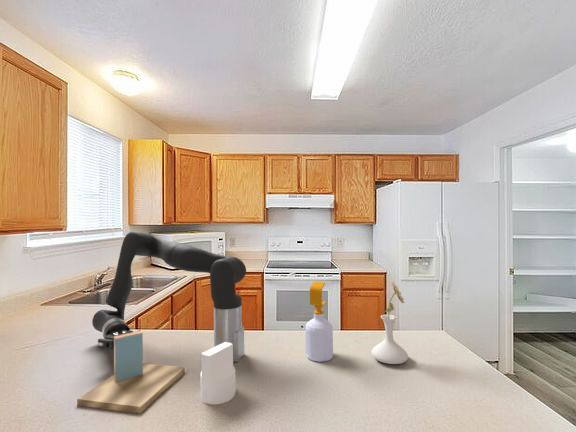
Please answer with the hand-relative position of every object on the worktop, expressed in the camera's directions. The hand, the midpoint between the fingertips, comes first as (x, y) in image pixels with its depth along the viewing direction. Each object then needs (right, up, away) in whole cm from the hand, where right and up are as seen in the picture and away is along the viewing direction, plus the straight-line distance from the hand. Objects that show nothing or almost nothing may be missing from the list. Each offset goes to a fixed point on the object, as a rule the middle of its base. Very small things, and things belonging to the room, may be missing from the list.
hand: (125, 347), depth 91 cm
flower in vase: (+82, -7, +8) cm, 83 cm away
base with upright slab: (+30, -8, -11) cm, 33 cm away
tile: (+3, -7, -4) cm, 8 cm away
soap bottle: (+59, -8, +11) cm, 61 cm away
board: (+7, -8, -7) cm, 12 cm away
